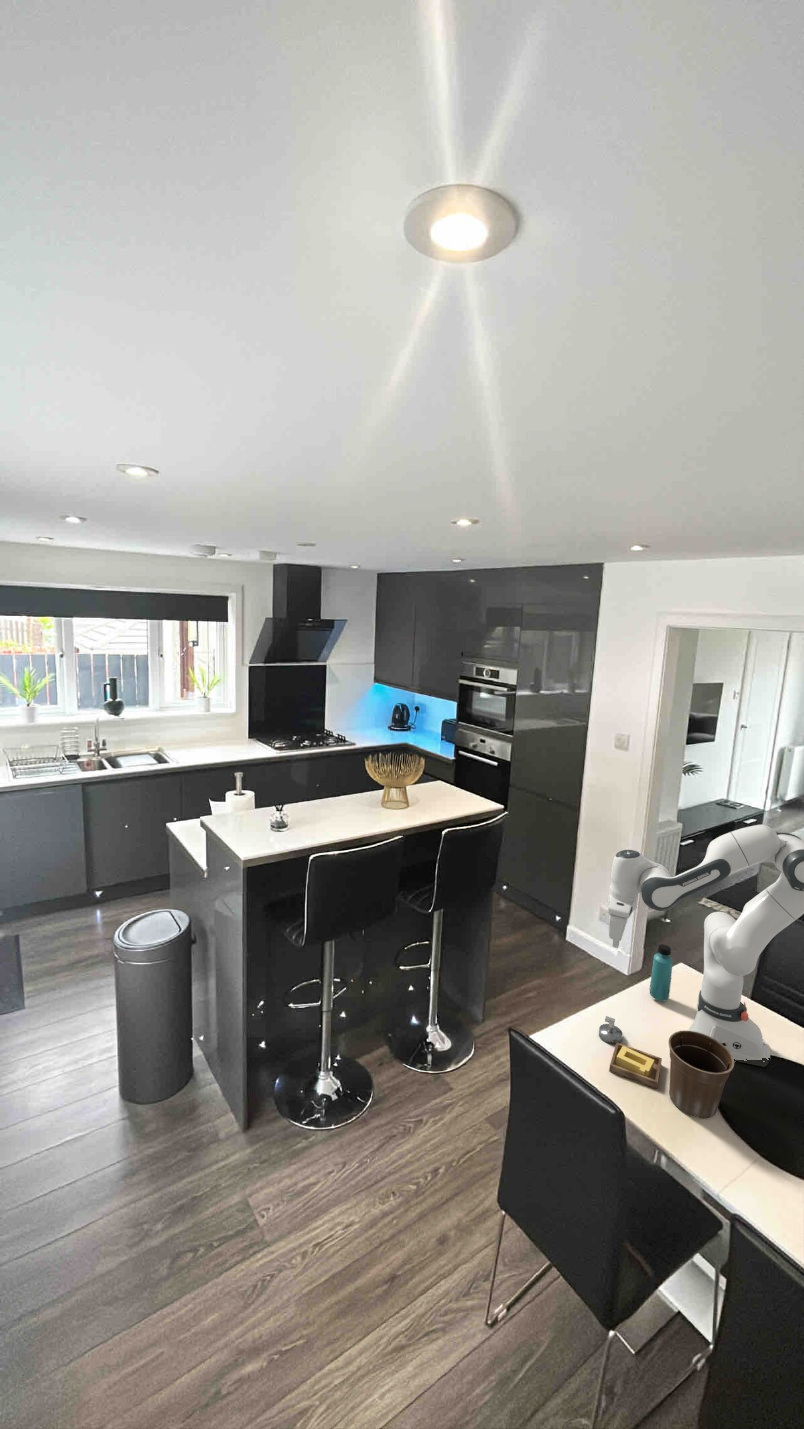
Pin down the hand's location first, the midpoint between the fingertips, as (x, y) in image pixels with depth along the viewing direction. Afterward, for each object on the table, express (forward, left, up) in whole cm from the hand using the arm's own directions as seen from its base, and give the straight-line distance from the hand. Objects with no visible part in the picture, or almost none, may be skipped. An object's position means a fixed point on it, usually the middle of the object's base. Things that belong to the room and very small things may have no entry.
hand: (617, 939), depth 199 cm
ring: (-11, +19, -28) cm, 35 cm away
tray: (-11, +19, -29) cm, 36 cm away
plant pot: (-27, +24, -29) cm, 46 cm away
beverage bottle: (-13, -20, -29) cm, 38 cm away
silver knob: (-2, +9, -29) cm, 30 cm away
